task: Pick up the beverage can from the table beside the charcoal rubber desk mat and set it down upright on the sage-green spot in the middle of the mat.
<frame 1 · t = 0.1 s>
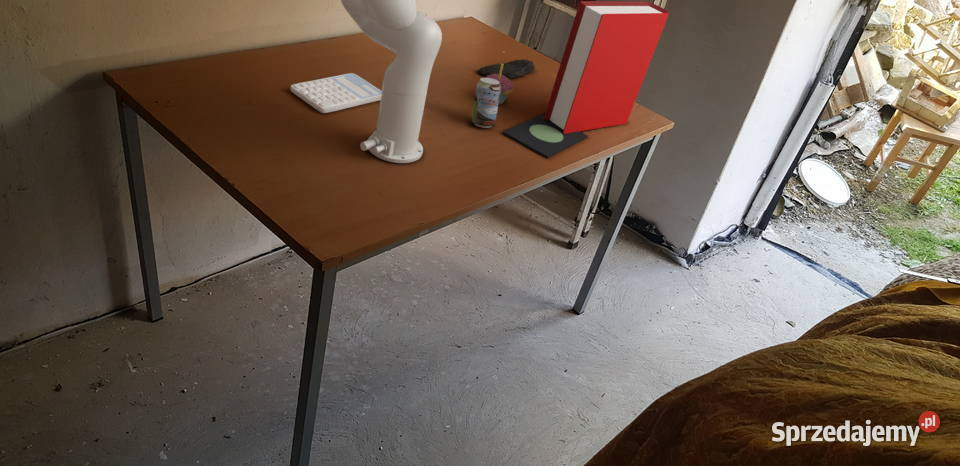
desk mat: (545, 135, 181), on the table
calculator: (338, 96, 175), on the table
beverage can: (481, 124, 179), on the table
wood: (509, 73, 210), on the table
cupcake: (494, 100, 192), on the table
book: (587, 121, 194), on the table, touching desk mat
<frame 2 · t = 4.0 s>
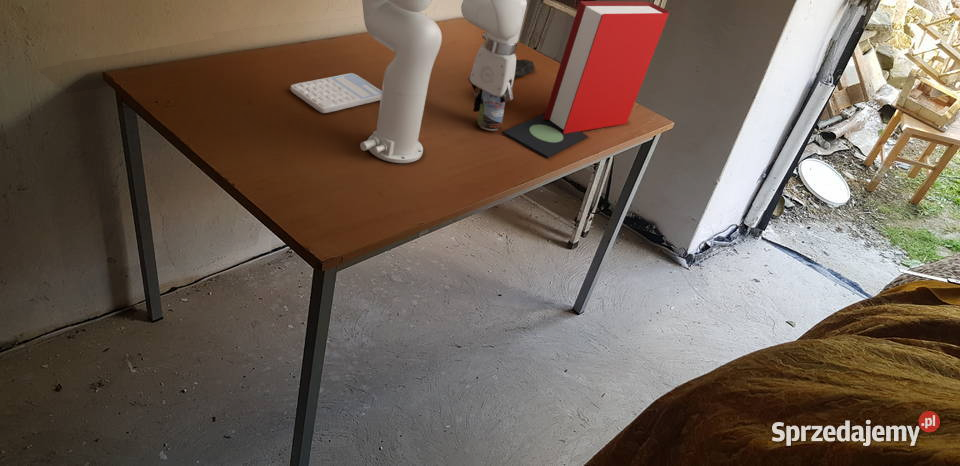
hand: (484, 113, 177), 3 cm above the table, tool pointing down, fingers closed on beverage can, 3 cm apart
beverage can: (487, 127, 178), on the table, touching gripper
everything else where it was.
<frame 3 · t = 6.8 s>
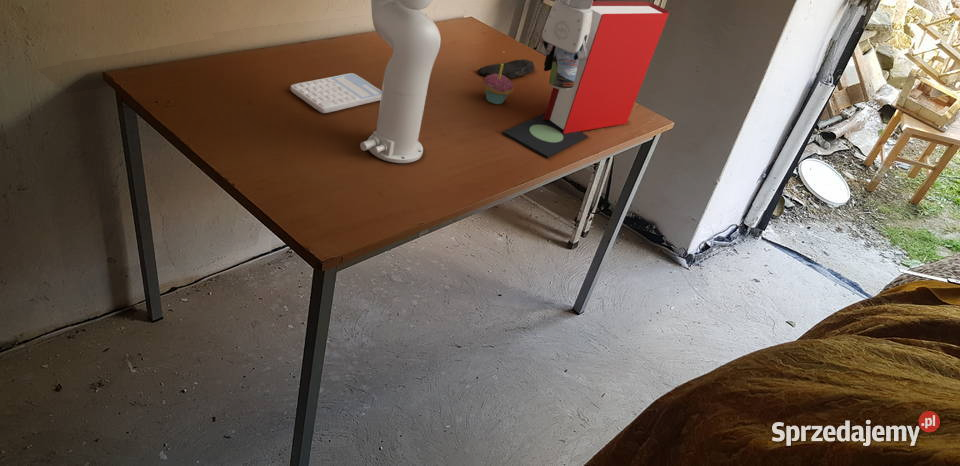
hand: (555, 72, 171), 17 cm above the table, tool pointing down, fingers closed on beverage can, 3 cm apart
beverage can: (558, 87, 173), point 14 cm above the table, touching gripper
everything else where it was.
when the fingers open (4 cm above the table, at t = 9.6 s): beverage can stays where it is, resting on desk mat.
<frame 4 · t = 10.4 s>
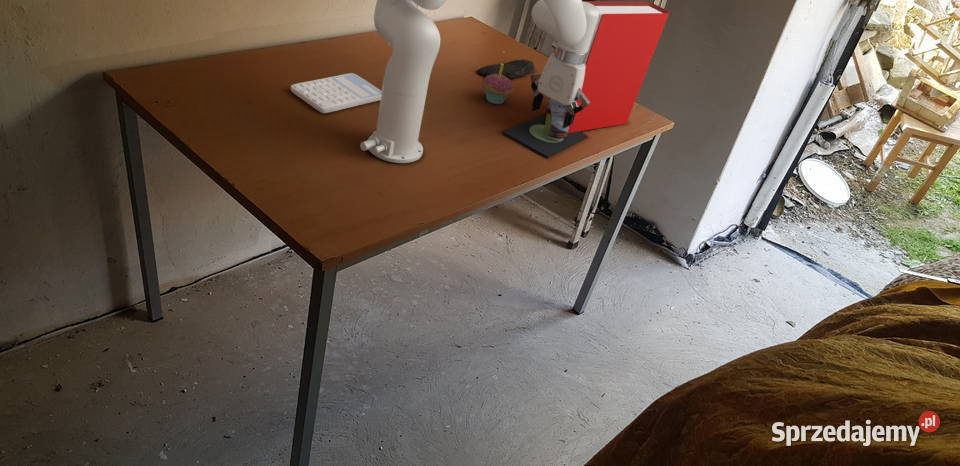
hand: (550, 118, 179), 5 cm above the table, tool pointing down, fingers open, 9 cm apart
beverage can: (552, 137, 180), point 1 cm above the table, touching desk mat
everything else where it was.
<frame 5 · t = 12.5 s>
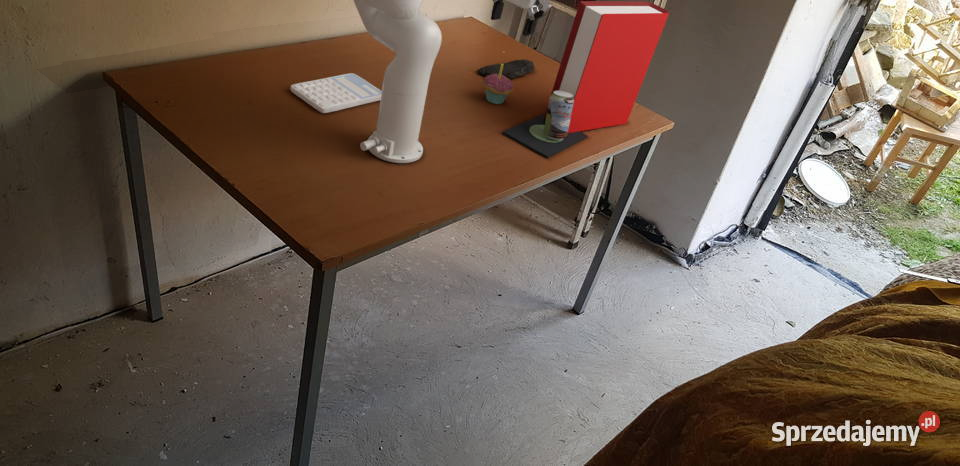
hand: (511, 27, 166), 26 cm above the table, tool pointing down, fingers open, 9 cm apart
nothing on the table moved.
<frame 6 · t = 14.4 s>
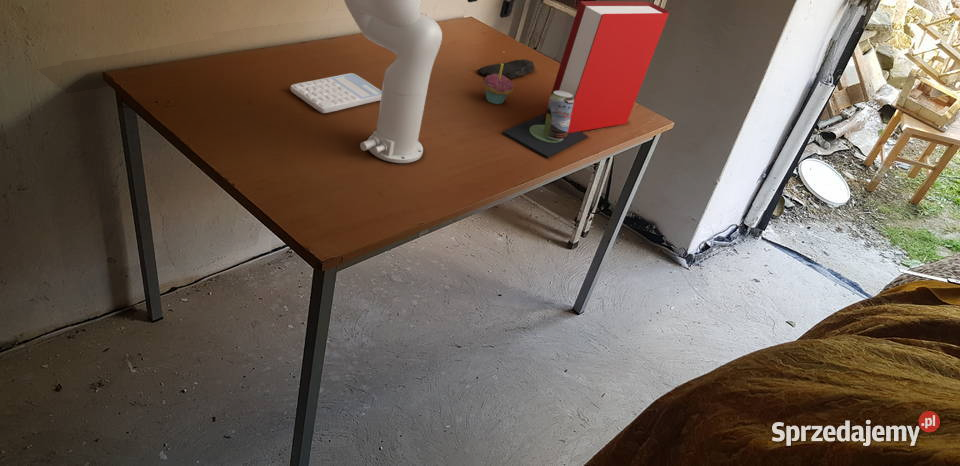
hand: (488, 8, 164), 28 cm above the table, tool pointing down, fingers open, 9 cm apart
nothing on the table moved.
at the end: beverage can 1.9 cm off-centre on the desk mat, point 0.5 cm above the desk mat's base; beverage can tilted 0°; the gripper is holding nothing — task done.
